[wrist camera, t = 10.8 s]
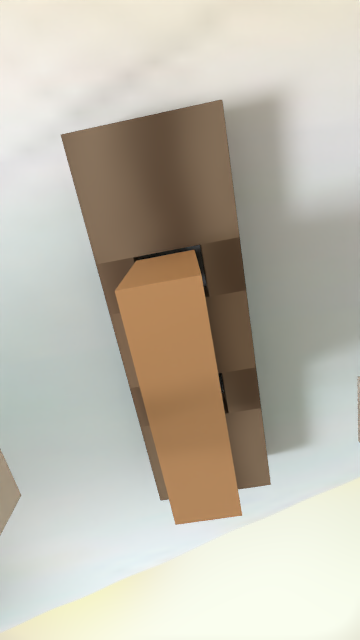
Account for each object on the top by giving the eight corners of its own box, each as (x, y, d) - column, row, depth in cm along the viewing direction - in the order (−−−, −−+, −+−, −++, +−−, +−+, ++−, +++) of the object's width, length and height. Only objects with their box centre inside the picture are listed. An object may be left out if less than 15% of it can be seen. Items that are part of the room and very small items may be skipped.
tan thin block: (177, 399, 25) (175, 524, 15) (144, 249, 21) (114, 290, 12) (218, 393, 24) (242, 515, 15) (191, 240, 21) (201, 274, 11)
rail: (162, 473, 27) (160, 500, 25) (75, 142, 19) (60, 134, 17) (262, 459, 26) (270, 484, 24) (216, 112, 18) (222, 99, 16)
